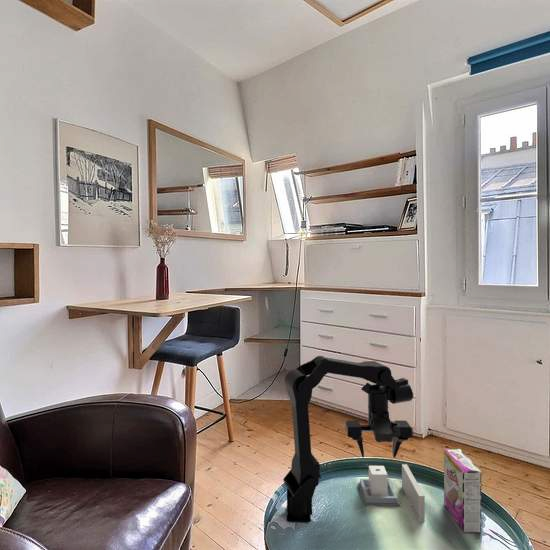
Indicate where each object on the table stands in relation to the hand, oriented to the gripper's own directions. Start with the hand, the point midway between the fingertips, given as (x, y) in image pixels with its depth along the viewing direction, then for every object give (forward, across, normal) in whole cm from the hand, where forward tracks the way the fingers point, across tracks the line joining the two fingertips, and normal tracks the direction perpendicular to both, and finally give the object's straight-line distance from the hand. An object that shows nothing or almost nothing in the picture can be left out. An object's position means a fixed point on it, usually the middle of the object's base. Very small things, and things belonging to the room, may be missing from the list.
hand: (378, 456), depth 109 cm
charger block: (+11, 0, 0) cm, 11 cm away
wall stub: (+12, +9, -4) cm, 15 cm away
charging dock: (+12, 0, 0) cm, 12 cm away
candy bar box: (+12, +20, -10) cm, 25 cm away
